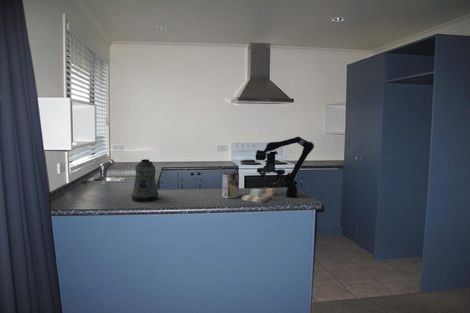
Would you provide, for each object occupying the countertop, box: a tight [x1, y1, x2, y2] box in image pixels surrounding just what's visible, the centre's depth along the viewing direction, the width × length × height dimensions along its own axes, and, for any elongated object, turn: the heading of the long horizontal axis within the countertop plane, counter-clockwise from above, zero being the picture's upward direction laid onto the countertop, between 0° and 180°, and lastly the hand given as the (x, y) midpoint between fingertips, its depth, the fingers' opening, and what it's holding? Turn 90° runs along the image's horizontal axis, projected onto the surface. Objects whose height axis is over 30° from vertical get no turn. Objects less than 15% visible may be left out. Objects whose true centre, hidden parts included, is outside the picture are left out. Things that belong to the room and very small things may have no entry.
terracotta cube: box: [265, 187, 276, 197], centre depth 231 cm, size 4×4×4 cm
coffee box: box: [221, 171, 240, 199], centre depth 222 cm, size 9×6×16 cm
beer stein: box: [131, 158, 159, 203], centre depth 214 cm, size 16×19×25 cm
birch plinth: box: [240, 192, 272, 204], centre depth 217 cm, size 14×14×2 cm
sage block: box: [250, 188, 263, 197], centre depth 217 cm, size 6×6×4 cm
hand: (270, 183), depth 230 cm, fingers open, 9 cm apart
